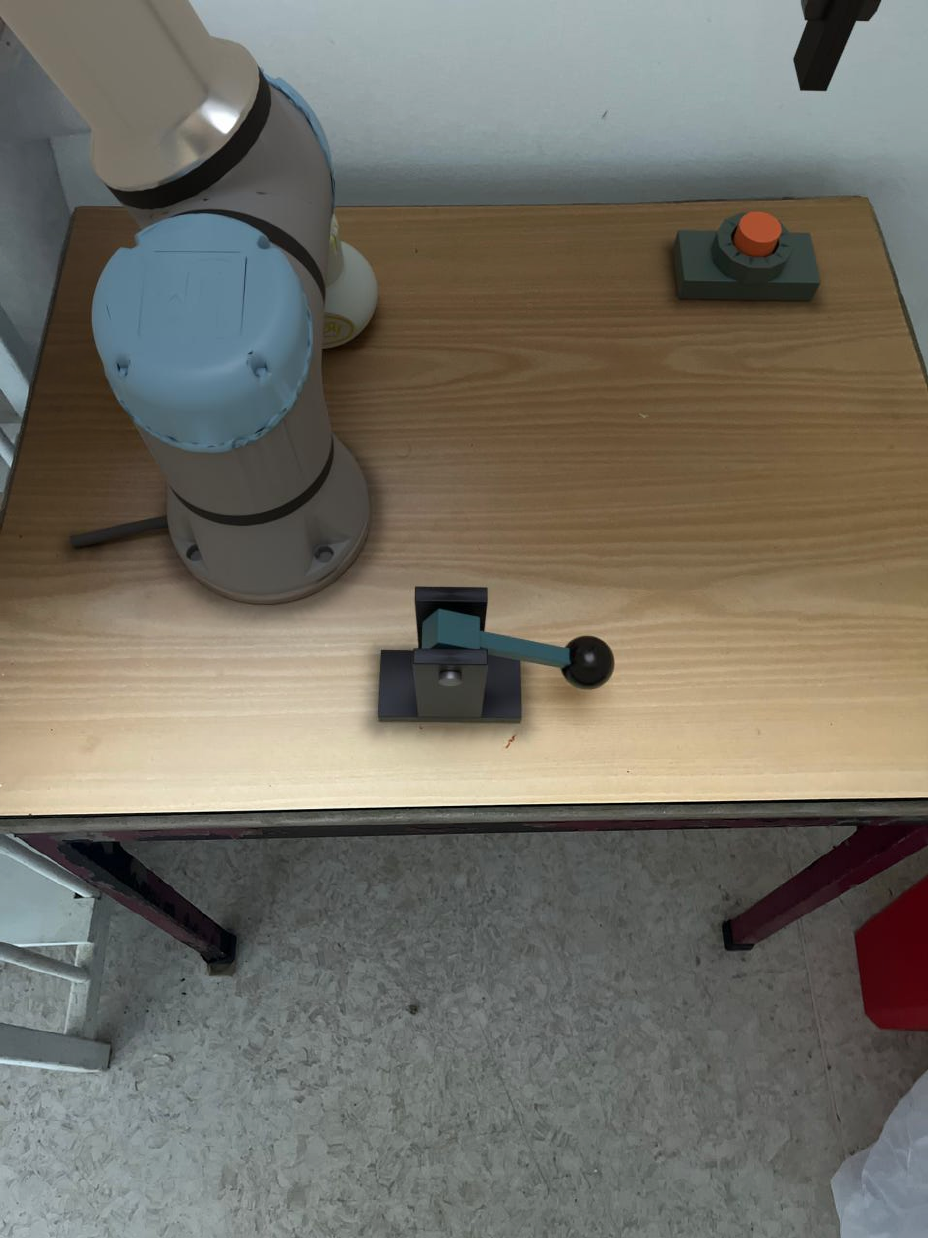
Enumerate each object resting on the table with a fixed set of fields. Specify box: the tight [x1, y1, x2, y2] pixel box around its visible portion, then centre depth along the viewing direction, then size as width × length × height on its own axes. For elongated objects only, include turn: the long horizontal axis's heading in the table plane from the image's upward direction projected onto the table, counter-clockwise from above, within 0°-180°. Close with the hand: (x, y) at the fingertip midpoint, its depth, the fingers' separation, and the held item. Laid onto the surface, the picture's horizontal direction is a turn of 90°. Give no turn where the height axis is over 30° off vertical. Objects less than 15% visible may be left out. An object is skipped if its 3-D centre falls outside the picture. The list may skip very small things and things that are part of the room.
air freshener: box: [322, 213, 379, 350], centre depth 70 cm, size 11×8×10 cm
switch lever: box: [422, 609, 616, 691], centre depth 54 cm, size 13×4×4 cm, turn 90°
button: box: [733, 211, 782, 257], centre depth 73 cm, size 4×4×2 cm
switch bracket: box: [377, 585, 522, 724], centre depth 56 cm, size 10×6×12 cm, turn 90°
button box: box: [671, 211, 821, 302], centre depth 75 cm, size 12×6×4 cm, turn 90°
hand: (809, 74), depth 48 cm, fingers closed
